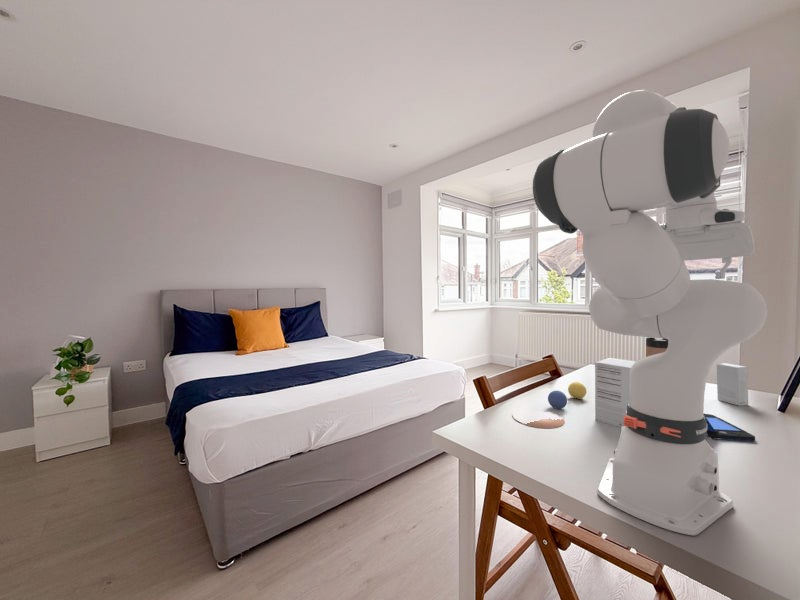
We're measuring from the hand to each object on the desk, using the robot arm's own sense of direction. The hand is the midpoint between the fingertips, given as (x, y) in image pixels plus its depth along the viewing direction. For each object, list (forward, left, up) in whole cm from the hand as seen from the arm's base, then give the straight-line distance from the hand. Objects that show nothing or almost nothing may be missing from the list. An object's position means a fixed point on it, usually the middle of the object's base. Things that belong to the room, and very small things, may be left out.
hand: (692, 279), depth 78 cm
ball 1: (0, +32, -37) cm, 48 cm away
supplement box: (+3, +16, -40) cm, 43 cm away
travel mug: (+34, +14, -40) cm, 54 cm away
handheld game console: (+15, 0, -40) cm, 43 cm away
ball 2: (+14, +32, -37) cm, 50 cm away
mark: (-12, +32, -39) cm, 52 cm away
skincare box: (+46, -2, -40) cm, 61 cm away
